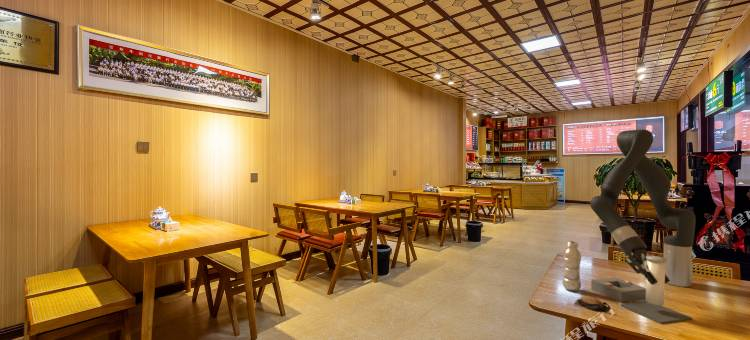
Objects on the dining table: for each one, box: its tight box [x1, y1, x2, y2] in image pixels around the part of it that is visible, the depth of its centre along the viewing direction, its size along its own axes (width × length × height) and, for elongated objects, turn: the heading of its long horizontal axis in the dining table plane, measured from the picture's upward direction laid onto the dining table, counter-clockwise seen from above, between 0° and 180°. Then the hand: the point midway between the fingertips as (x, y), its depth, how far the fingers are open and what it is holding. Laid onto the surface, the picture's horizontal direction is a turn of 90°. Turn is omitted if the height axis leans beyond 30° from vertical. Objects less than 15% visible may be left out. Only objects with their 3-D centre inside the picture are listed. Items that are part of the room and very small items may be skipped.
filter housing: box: [590, 277, 646, 303], centre depth 133 cm, size 13×13×5 cm
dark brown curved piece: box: [573, 295, 611, 314], centre depth 122 cm, size 11×8×4 cm
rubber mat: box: [619, 300, 693, 325], centre depth 117 cm, size 14×14×1 cm
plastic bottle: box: [562, 240, 582, 292], centre depth 137 cm, size 6×7×20 cm
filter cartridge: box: [645, 254, 667, 306], centre depth 117 cm, size 6×6×16 cm
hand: (660, 282), depth 115 cm, fingers closed on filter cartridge, 5 cm apart
